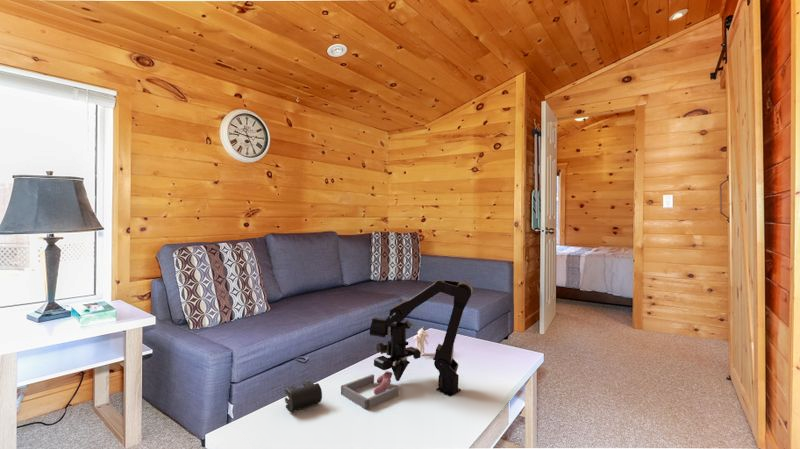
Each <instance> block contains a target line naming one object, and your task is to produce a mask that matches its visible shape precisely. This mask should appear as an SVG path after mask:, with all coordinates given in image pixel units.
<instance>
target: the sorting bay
mask: <svg viewBox="0 0 800 449" xmlns="http://www.w3.org/2000/svg"><path fill="white" fill-rule="evenodd" d="M374 383H375V374H370V375H367V376H364V377H361V378H358V379H356V380H353V381H350V382H348V383H345V384H342V385H341V386H340V396H341V395H342V396H343V397H344V398H346V399H348V400H349V401H351V402H353V403H354V404H355V405H358V406H360V407H361V408H363V409H364V410H366V411H368V410H370V409H372V408H375V407H377V406H379V405H381V404H383V403H385V402H388V401H391V400H393V399H394V398H397V397H399V389H400V388H399V387H398V386H395V387H392V388H391V387H390V388H388V389H387V390H386V391H384V392H382V393H379V394H377V395H376V394H374V395H373V396H370V397H365V396H364V395H362V394H360V393H358V392H357V390H361V389H363V388H365V387H369V386H370V385H373V384H374Z"/></svg>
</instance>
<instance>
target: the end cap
mask: <svg viewBox="0 0 800 449" xmlns="http://www.w3.org/2000/svg"><path fill="white" fill-rule="evenodd" d="M302 386H303V387H296V386H295V385H292V386H288V387H286V388H285V391H284V394H285V395H286V397H285V398H284V401H285V408H286V409H287V411H289V413H294V412H296V411H299V410H303V409H306V408H308V407H312V406H315V405H317V404H319V403H321V401H322V400H323V399H322V398H323V391H322V388H321V385H320V384H319V383H318V382H317V383H313V382H312V381H306V382H303V383H302ZM287 397H288V398H287Z"/></svg>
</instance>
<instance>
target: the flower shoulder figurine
mask: <svg viewBox="0 0 800 449" xmlns="http://www.w3.org/2000/svg"><path fill="white" fill-rule="evenodd" d="M428 338H429V333H428V332H427V331H425V330H424V327H421V328H419V329H418V330H417V334H416V335H415V336H413V340H414V342H415V348H416V349H419V351H420V352H421V357H423V355H426V354H427V353H426V352H425V345H427V346H429V342H428Z"/></svg>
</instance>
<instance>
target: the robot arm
mask: <svg viewBox="0 0 800 449" xmlns="http://www.w3.org/2000/svg"><path fill="white" fill-rule="evenodd" d="M439 293H443V294H446V295H448V296H451V297H453V304H452V305H453V307H452V310H451V315H450V319H449V320H448V324H447V328H446V332H445V336H444V339H443V343H442V344H440V343H438V344H437V346H436V348H435V354H434V356H433V358H432V360H433V361H434V362H433V364H434V368H435V369H436V370H437V371H438V373H439V375H438V382H437V383H438V385H437V386H438V387H436V389H435V391H437V392H440V393H441V394H443V395H446V396H448V397H452V396H454V395H456V394H457V393H459V392H461V391H462V389H461V388H460V387H459V378H460V377H459V374H458V373H457V371H458V368H459V363H458V362H457V361H456V360H455V359H454V344H455V341H456V337H457V335H458V330H459V327H460V323H461V320H462V317H463V313H464V310H465V308H466V306H467V304H468V303H469V300H470V298H471V296H472V293H473V286H472V284H471V283H470V282H468V281H466V280H462V281H455V280H446V279H442V278H439V279H437V280H435V282H433V283H432V284H429V285H428V286H427V287H426V288H425V289H423V290H421V291H420V292H418V293H416V294H415V295H414V296H412V297H411V298H408V299H405V300H403V301H401V302H398V303H396V304H395V305H394V306H393V307H392V308H391V309H390V310H389V314H388V316H387V317H386V318H381V317H379V318H378V317H373V318H372V319H371V323H370V326H369V327H370V328H369V336H370V337H376V338H382V339H383V338H385V339H386V338H387V337H388V336H390V340H388V341H387V342H386V343H383V342H379V343H376V352H377V353H380V356H377V357H375V358H374V359H373V367H376V368H378V369H380V370H382V371H388V370H390V369H391V371H392V373H393V376H394V378H395V381H396V382H399V381H400V380H401V378H402V376H403V374H404V372H405V371H406V369H407V367H408V365H410V361H409V360H408V358H409V357H413V358H414V360H417V359H420V358H421V357H422V356H421V352H420V351H419V349H416V347H413V346H409V341H407V329H408V330H409V329H411V328H412V326H413V324H412V323H411V322H409V320H408V319H407V320H406V321H405V322H404V321H403V320H404V319H406V317H408V316H409V315H410V314H411V313H412V312H413V311H414V309H416V308H418V307H419V306H421V305H422V304H423V303H425V302H426V301H428V300H430V299H432V298H433V297H434V296H437V294H439ZM407 346H408V347H407ZM382 354H386V356H385V355H382ZM388 356H390V357H388Z"/></svg>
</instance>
